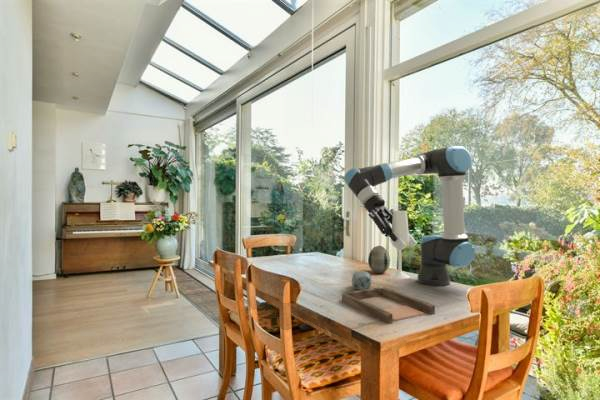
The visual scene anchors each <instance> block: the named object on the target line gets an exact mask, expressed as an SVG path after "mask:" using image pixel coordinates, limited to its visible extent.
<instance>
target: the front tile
mask: <svg viewBox="0 0 600 400" xmlns="http://www.w3.org/2000/svg"><path fill="white" fill-rule="evenodd" d="M383 310H384V311H386V312H389V313H391V314H392V321H394V322H395V321H396V322H397V321H401V320H405V319H410V318H415V317H419V316H424V315H425V314H426V312H423V311H421V310H418V309H416V308H413V307H411V306H408V305H406V304H403V305H401V306H395V307H390V308H385V309H383Z"/></svg>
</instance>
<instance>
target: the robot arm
mask: <svg viewBox="0 0 600 400" xmlns="http://www.w3.org/2000/svg"><path fill="white" fill-rule="evenodd" d="M472 164H473V161H472V155H471V153H470V152H469V150H467V148H466V147H465V146H461V145H455V146H454V145H452V146H448V147H440V148H436V149H431V150H428V151H426V152H423V153H420V154H415V155H413V156H412V157H411V158H405V159H400V160H395V161H391V162H384V163H381V164H375V165H371V166H370V165H369V166H365V167H354V168H351V169H349V170H348V171H346V173H345V175H344V178H343V180H344V182H345V184H346V185H347V186H348V187H347V188H349V189H350V190H351V192H352V193H353V194H354V196H356V198H357V199H358V200H359V201H360V203H361V204H362V206H364V209H365V210H366V212H367V213H368V217H370V219H372V221H373V222H374V224H375V226H376V227H377V228H378V230H379V231H380V232H381V234H382V235H384V236H385V237H386V238H387V237H389V238H390V240H391V239H392V240H393V242H394V243H395V244H396V246H397V247H398V248H399V249H400V250H402V249H403V248H404V247H405V246H406V244H405V243H404V242H403V241H402V239H401V238H400V237H399V236H398V234H397V233H396V232H395V231H393V232H392V226H391V225H392V219H393V211H395V210H394V208H390V209H388V208H387V207H386V206H385V204H386V202H385V199H384V197H382V196H381V194H379V192H378V191H377V190H376V188H374V187H376V186H379V185H381V184H383V183H386V182H388V181H390V180H391V179H392V180H393V179H396V178H401V177H406V176H411V175H425V174H426V175H427V174H435V175H436V174H437V178H438V179H440V181H441V189H442V192H441V193H442V213H443V216H442V217H443V233H442V234H440V235H439V234H438V235H437V234H436V235H424V236H422V237H421V239H420V268H419V270H418V275H417V277H416V278H417V279H416V280H417V282H418V283H420V284H423V285H426V286H435V287H436V286H437V287H440V286H448V285H451V278H450V276H449V272H448V269H447V265H449V266H451V267H454V268H461V269H462V268H466V267H468V266H469V265H470V264H471V263H472V262H473V261H474V258H475V256H476V250H475V247H474V245H473V244H472V243H471V242H469V236H468V235H467V233H465V212H464V211H465V210H464V207H465V206H464V184H463V180H464V179H465V178H466V177H467V172H468V171H469V170H470V169H471V168H470V167H472ZM409 240H410V241H409V244H408V246H410V248H411V249H413V248H414V247H415V245H417V244H418V242H417V241H416V240H415V238H414V237H413V236H412V235H411V234H410V233H409ZM406 247H407V246H406ZM406 247H405V248H406ZM405 248H404V249H405ZM404 249H403V250H404ZM403 250H402V251H403Z"/></svg>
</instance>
